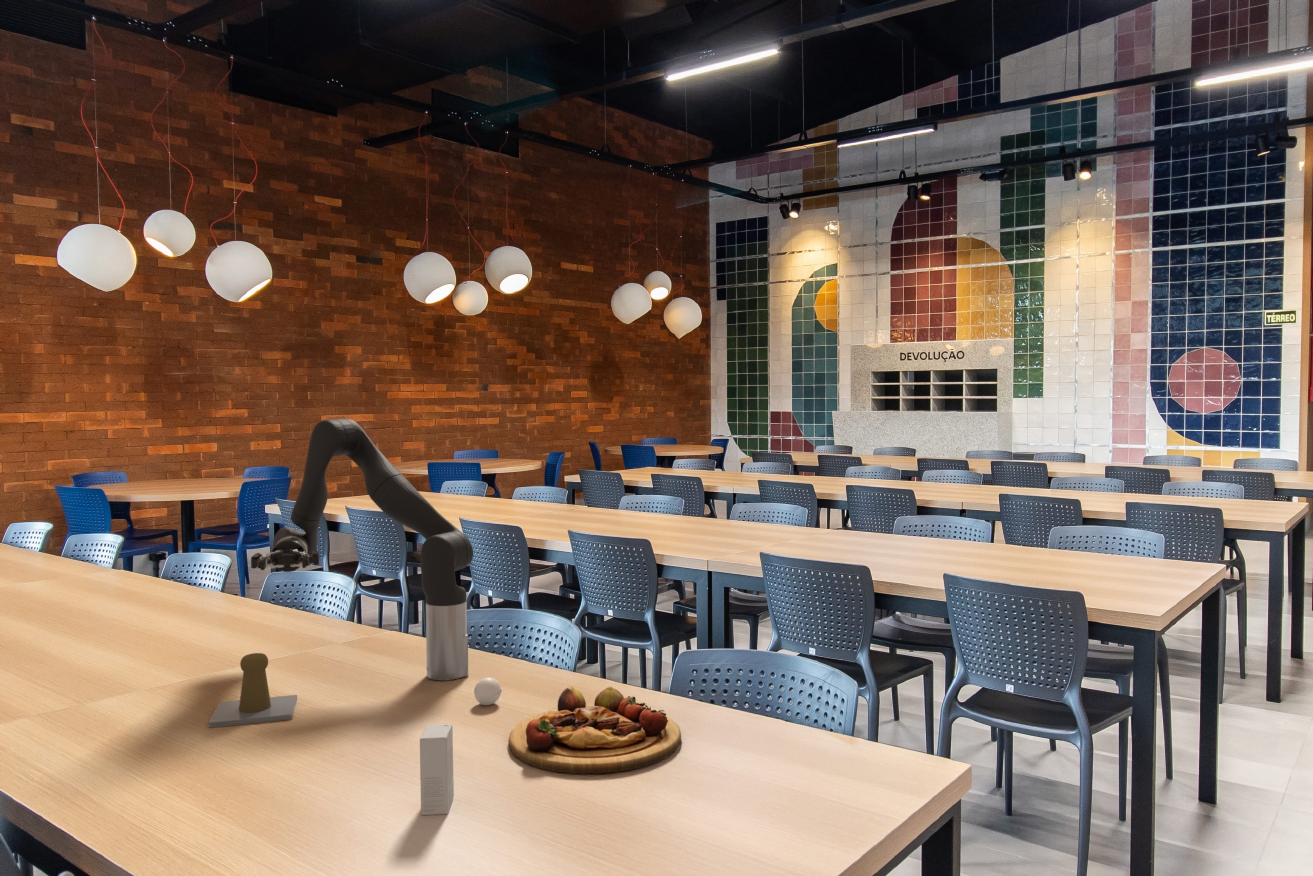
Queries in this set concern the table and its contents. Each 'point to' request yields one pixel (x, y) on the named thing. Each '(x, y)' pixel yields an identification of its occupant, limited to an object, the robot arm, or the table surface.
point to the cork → (254, 684)
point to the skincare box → (436, 769)
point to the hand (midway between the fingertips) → (283, 564)
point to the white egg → (487, 691)
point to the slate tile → (231, 715)
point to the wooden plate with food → (595, 735)
